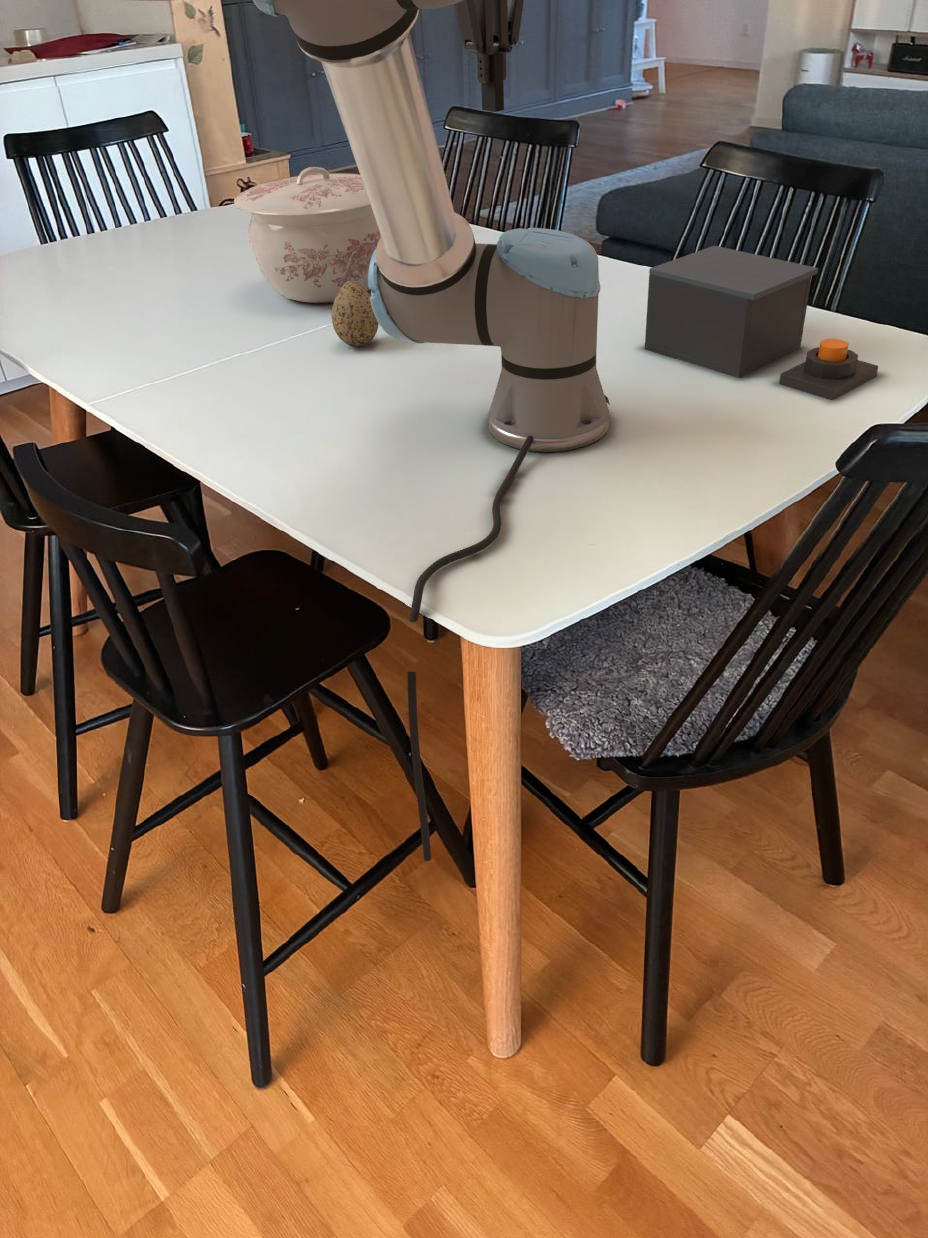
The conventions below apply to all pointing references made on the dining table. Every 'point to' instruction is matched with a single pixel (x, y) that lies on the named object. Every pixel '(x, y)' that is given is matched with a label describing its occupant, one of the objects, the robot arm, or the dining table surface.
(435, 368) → the dining table surface
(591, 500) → the dining table surface
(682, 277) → the dark grey box lid
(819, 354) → the button
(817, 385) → the control block
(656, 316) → the dark grey box
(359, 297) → the decorative egg
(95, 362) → the dining table surface
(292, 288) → the chamber pot
